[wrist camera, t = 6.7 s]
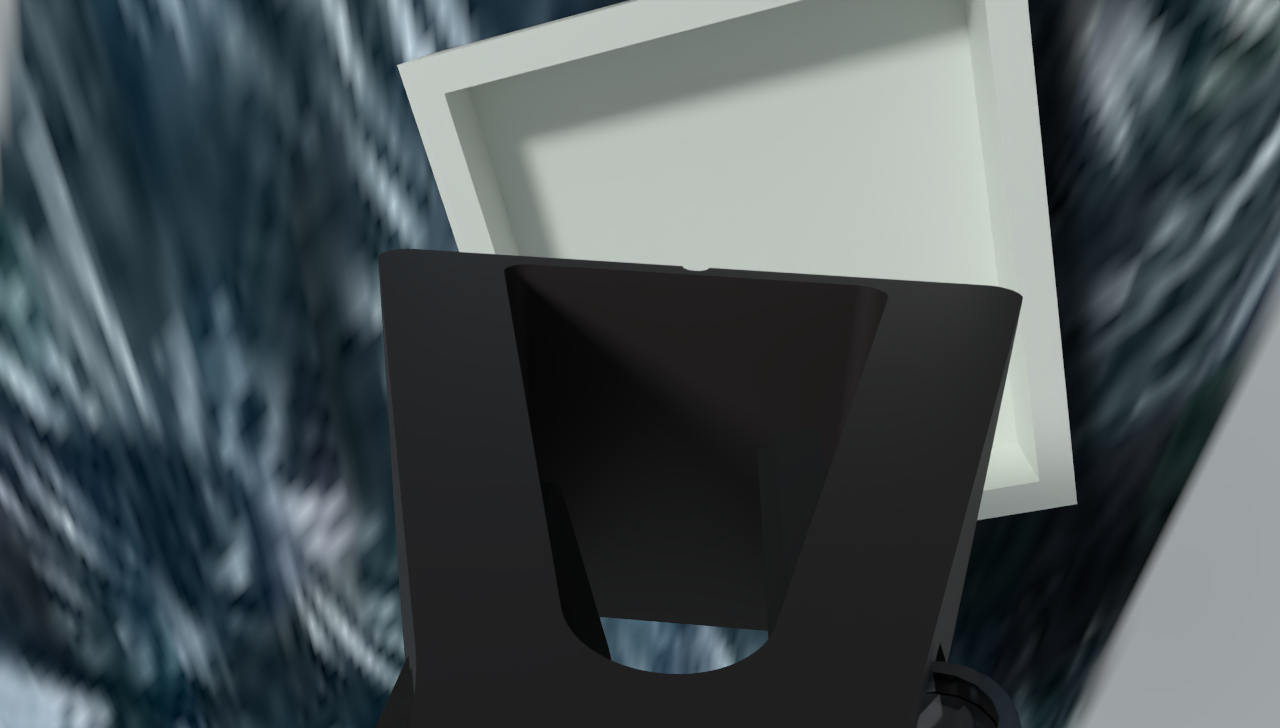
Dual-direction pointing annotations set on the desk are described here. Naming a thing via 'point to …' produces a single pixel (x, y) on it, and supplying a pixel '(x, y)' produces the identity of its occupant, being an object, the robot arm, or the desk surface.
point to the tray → (774, 162)
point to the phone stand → (681, 481)
